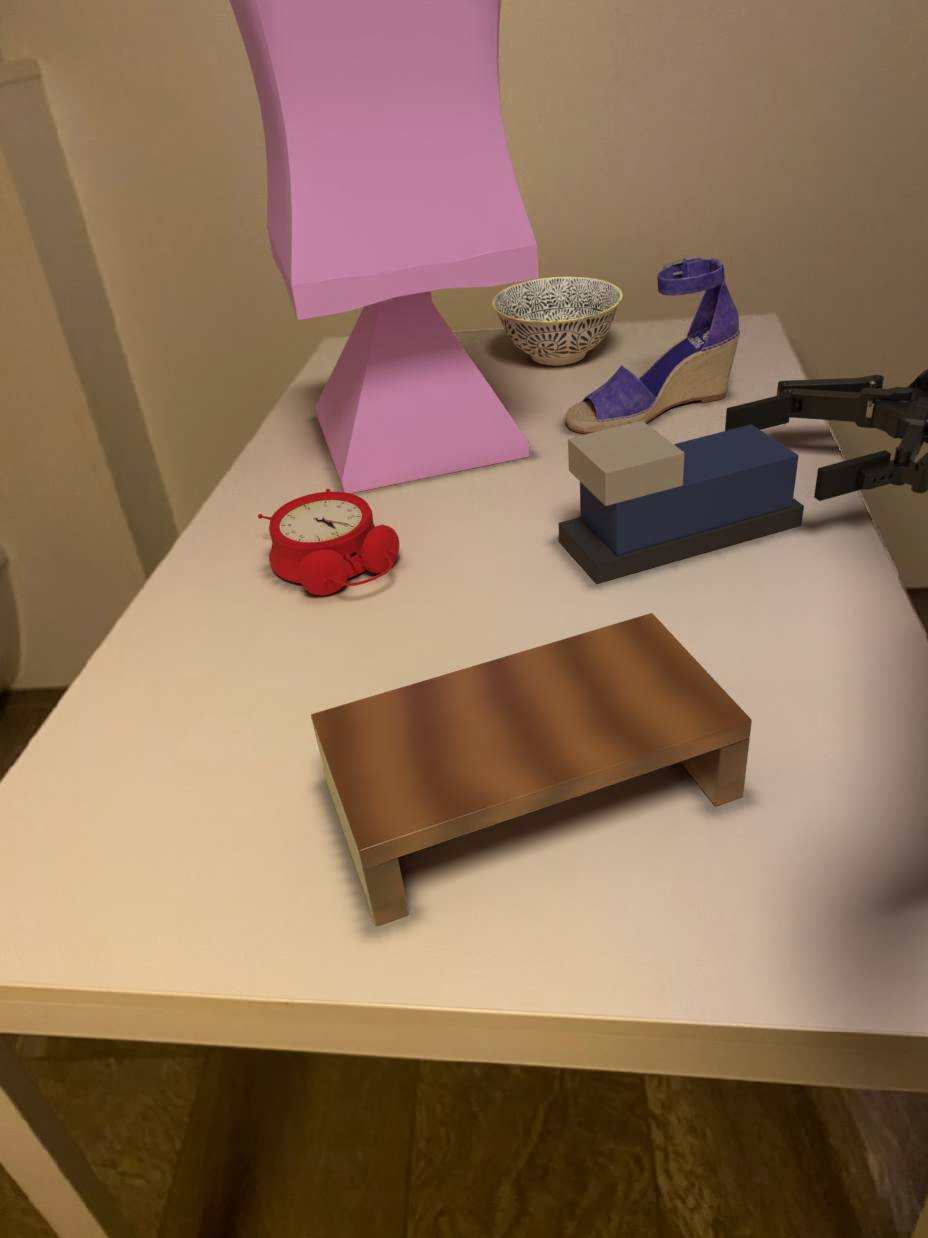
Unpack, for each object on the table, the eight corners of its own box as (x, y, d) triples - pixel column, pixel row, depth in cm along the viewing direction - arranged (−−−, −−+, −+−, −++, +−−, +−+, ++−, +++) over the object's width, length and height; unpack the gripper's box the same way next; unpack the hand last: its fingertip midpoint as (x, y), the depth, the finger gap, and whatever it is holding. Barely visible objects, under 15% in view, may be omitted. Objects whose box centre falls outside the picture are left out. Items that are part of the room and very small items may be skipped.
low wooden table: (649, 685, 69) (652, 612, 66) (743, 797, 60) (752, 719, 56) (328, 786, 64) (310, 713, 60) (375, 927, 55) (358, 851, 51)
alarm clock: (338, 476, 92) (413, 501, 80) (355, 536, 95) (430, 569, 83) (238, 513, 88) (301, 545, 76) (259, 575, 91) (323, 616, 78)
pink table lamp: (486, 382, 117) (451, -72, 90) (546, 459, 99) (524, -77, 73) (305, 416, 113) (212, -45, 87) (333, 503, 96) (228, -44, 69)
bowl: (628, 375, 115) (629, 313, 110) (496, 385, 116) (491, 323, 112) (615, 329, 128) (615, 271, 123) (496, 338, 129) (492, 281, 124)
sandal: (555, 409, 109) (550, 275, 100) (721, 382, 111) (731, 248, 102) (574, 439, 102) (571, 298, 94) (751, 410, 104) (765, 269, 95)
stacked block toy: (752, 488, 91) (762, 388, 85) (801, 525, 85) (816, 420, 79) (558, 541, 86) (555, 439, 80) (596, 584, 80) (595, 477, 74)
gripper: (1069, 493, 81) (857, 556, 77) (872, 391, 101) (693, 436, 96) (1095, 411, 77) (872, 472, 72) (885, 320, 96) (698, 364, 92)
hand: (769, 452), depth 84 cm, fingers open, 13 cm apart
